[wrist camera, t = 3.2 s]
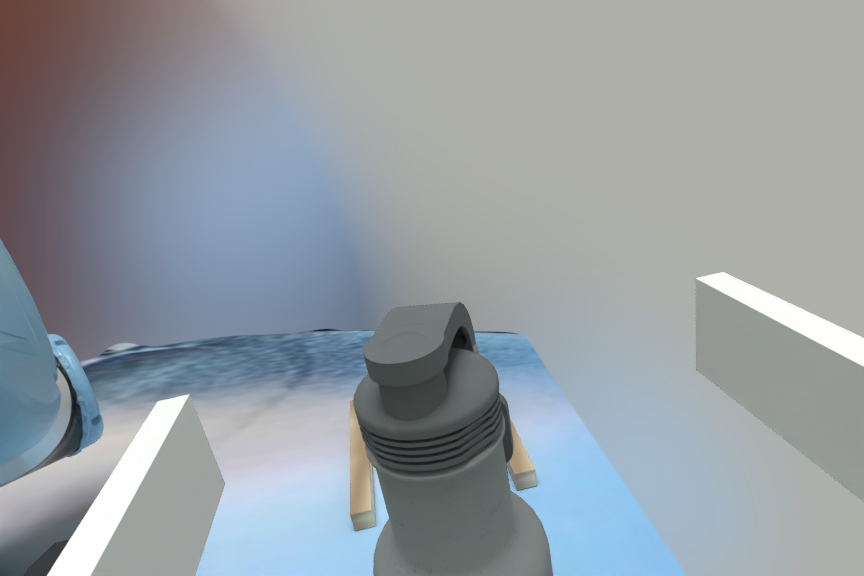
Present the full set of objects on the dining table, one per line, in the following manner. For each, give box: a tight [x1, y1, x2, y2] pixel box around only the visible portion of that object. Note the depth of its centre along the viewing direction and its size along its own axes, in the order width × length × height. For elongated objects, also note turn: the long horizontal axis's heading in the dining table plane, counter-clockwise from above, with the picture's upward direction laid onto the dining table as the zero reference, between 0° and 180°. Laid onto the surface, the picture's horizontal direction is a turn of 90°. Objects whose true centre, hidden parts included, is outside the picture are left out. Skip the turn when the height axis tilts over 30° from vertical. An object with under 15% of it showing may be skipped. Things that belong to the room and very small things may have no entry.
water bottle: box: [353, 302, 553, 576], centre depth 30 cm, size 10×10×28 cm
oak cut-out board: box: [350, 400, 537, 531], centre depth 60 cm, size 18×20×2 cm
